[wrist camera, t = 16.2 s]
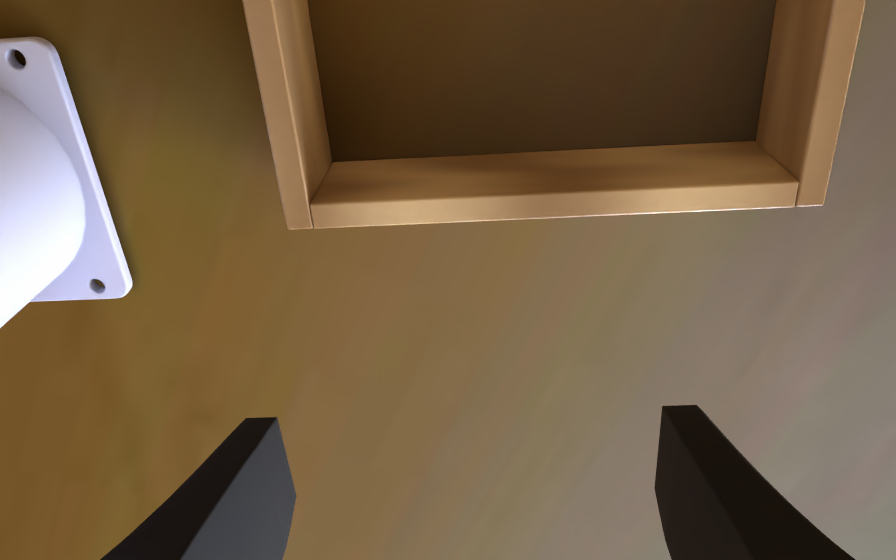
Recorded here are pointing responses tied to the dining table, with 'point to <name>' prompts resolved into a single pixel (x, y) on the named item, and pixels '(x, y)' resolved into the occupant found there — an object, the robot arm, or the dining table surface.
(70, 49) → the dining table surface
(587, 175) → the birch box
